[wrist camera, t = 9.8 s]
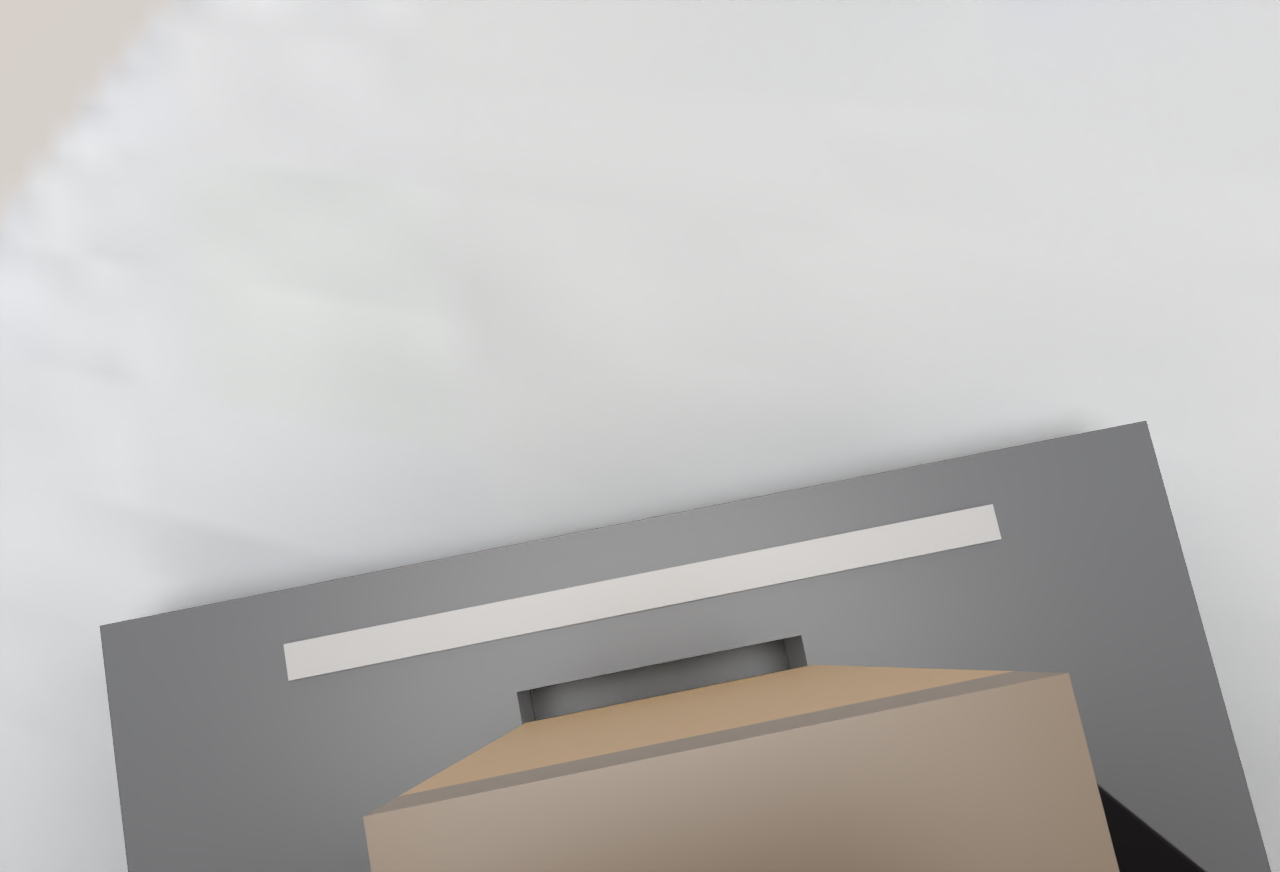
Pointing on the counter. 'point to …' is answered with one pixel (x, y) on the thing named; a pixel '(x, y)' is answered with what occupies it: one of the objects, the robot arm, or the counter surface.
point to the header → (682, 648)
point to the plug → (774, 782)
